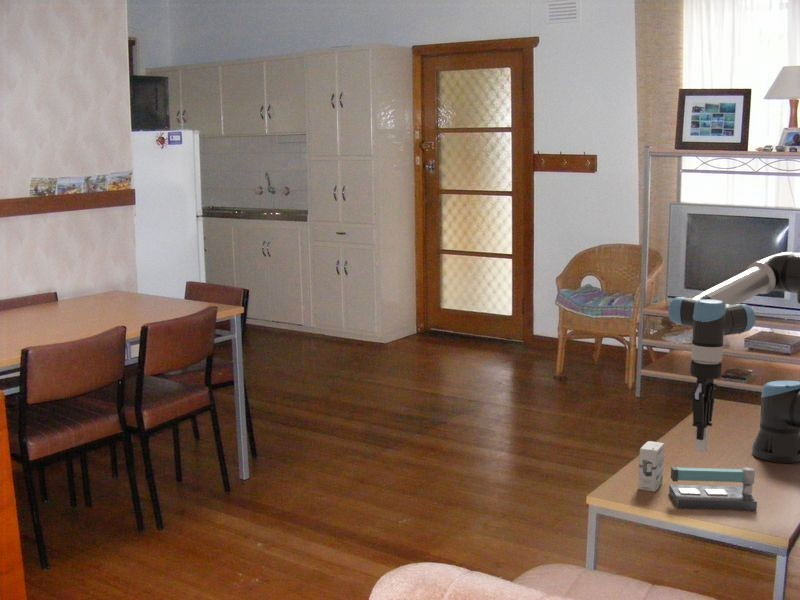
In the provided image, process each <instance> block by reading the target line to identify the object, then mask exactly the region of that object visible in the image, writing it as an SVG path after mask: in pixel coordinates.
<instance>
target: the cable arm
mask: <svg viewBox="0 0 800 600" xmlns="http://www.w3.org/2000/svg"><path fill="white" fill-rule="evenodd" d="M755 476H756V469H754V468H752V467H742V468H740V469H739V468H713V467H712V468H710V467H709V468H708V467H707V468H706V467H677V466H674V465H673V466H672V465H671V466H670V479H671V480H672V482H677V483H678V481H684V482H685V481H686V482H689V481H690V482H691V481H692V482H714V483H715V482H721V483H722V482H723V483H742V484H743V483H744V484H752V485H754V484H755Z"/></svg>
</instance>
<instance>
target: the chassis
mask: <svg viewBox="0 0 800 600" xmlns="http://www.w3.org/2000/svg"><path fill="white" fill-rule="evenodd" d="M668 489H669V491H668V495H669V496H670V497H671V500H672V501H673V503H674V504H675V506H676V508H677V509H682V510H683V509H685V510H710V511H711V510H714V511H715V510H716V511H739V512H740V511H747V512H749V511H751V512H757V510H758V509H757V507H758V501H757V500H756V499H755V498H754V496H753V484H744V483H742V486H733V485H731V486H729V485H727V486H726V485H698V484H697V485H691V484H669V488H668Z"/></svg>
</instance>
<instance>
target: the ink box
mask: <svg viewBox="0 0 800 600" xmlns="http://www.w3.org/2000/svg"><path fill="white" fill-rule="evenodd" d="M664 459H665V443H664V442H658V441H652V440H648V441H646V442H645V443H644V444H643V445H642V446H641V447H640V449H639V463H638V480H637V481H638V482H637V485H638V486H637V489H638V490H642V491H649V492H656V491H657V490H658V489H659V488H660V486H661V485H663V477H664Z"/></svg>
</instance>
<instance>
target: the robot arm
mask: <svg viewBox="0 0 800 600" xmlns="http://www.w3.org/2000/svg"><path fill="white" fill-rule="evenodd" d="M777 291H778V292H788V293H794V294H797V295H796V297H797V298H796V299H797V304H798V305H800V251H799V252H798V251H793V250H792V251H782V252H778V253H774V254H770V255H768V256H765V257H763V258H761V259H758V260H756V261H754V262H752V263H750V264H749V265H748V266H747V267H746V269H745V270H744V271H741V272H740V273H738V274H736V275H734V276H731V277H730V278H728V279H726V280H724V281H722V282H720V283H717V284H716V285H714V286H712V287H710V288H708V289H706V290H704V291H700V293H698V294H695V295H693V296H691V297H687V296H677V297H674V298H673V299H672V300H671V301H670V303H669V306H668V310H667V311H668V317H669V320H670V321H671V322H672V323H673V324H675V325H676V324H677V325H680V326H682V327H690V328H692V340H691V345H690V346H689V349H690V350H691V354H690V358H691V361H690V366H689V367H690V370H689V374H690V375H691V376H692V377H695V378H696V382H695V384H694V391H691V399H692V424H691V425H692V426H693V427H695V439H694V451H695V452H700V453H706V452H708V439H709V437H708V436H709V427H712V426H713V423H712V419H713V412H714V403H715V398H716V391H717V387H718V386H717V385H718V384H717V383H714V380H715V379H719V378H721V376H722V367H723V366H722V365H723V364H722V363H721V362H722V361H723V357H724V356H723V355H724V352H723V351H724V338H725V336H731V335H736V334H737V335H741V334H743V333H746V332H749V331H751V330H752V329H753V328H754V326H755V324H756V313H755V311H754V310H753V308H752V307H751V306H750V305H748V304H746V303H744V302H746V301H747V300H749V299H751V298H753V297H755V296H758V295H759V294H760V295H766V294H769V293H771V292H777ZM760 398H761V400H760V419H759V429H758V432H757V434H756V436H755V438H754V441H753V443H752V445H751V447H752V448H751V454H752V455H753V456H754V457H756V458H758V459H761V460H763V461H767V462H772V463H779V464H797V463H800V381H797V380H775V381H773V380H772V381H770V382H766V383H765V384H763V386H762V390H761V395H760Z"/></svg>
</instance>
